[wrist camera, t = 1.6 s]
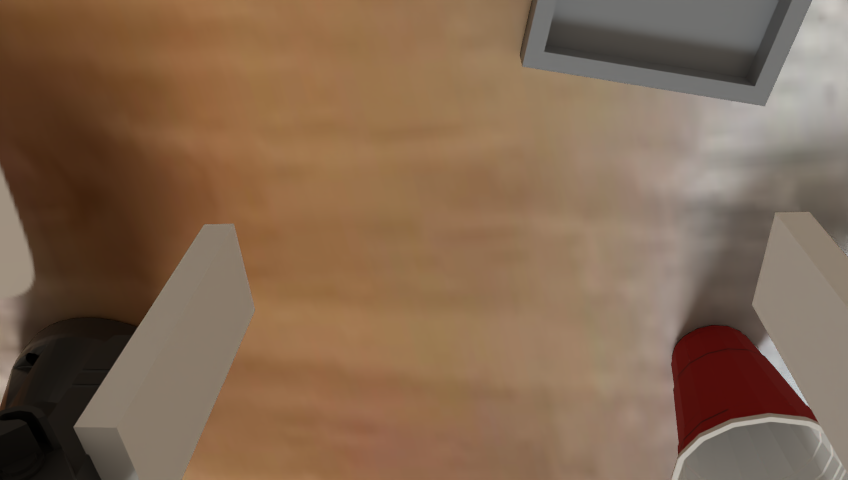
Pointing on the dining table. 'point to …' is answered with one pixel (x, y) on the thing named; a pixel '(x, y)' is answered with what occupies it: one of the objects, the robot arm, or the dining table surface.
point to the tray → (667, 43)
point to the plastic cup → (742, 415)
